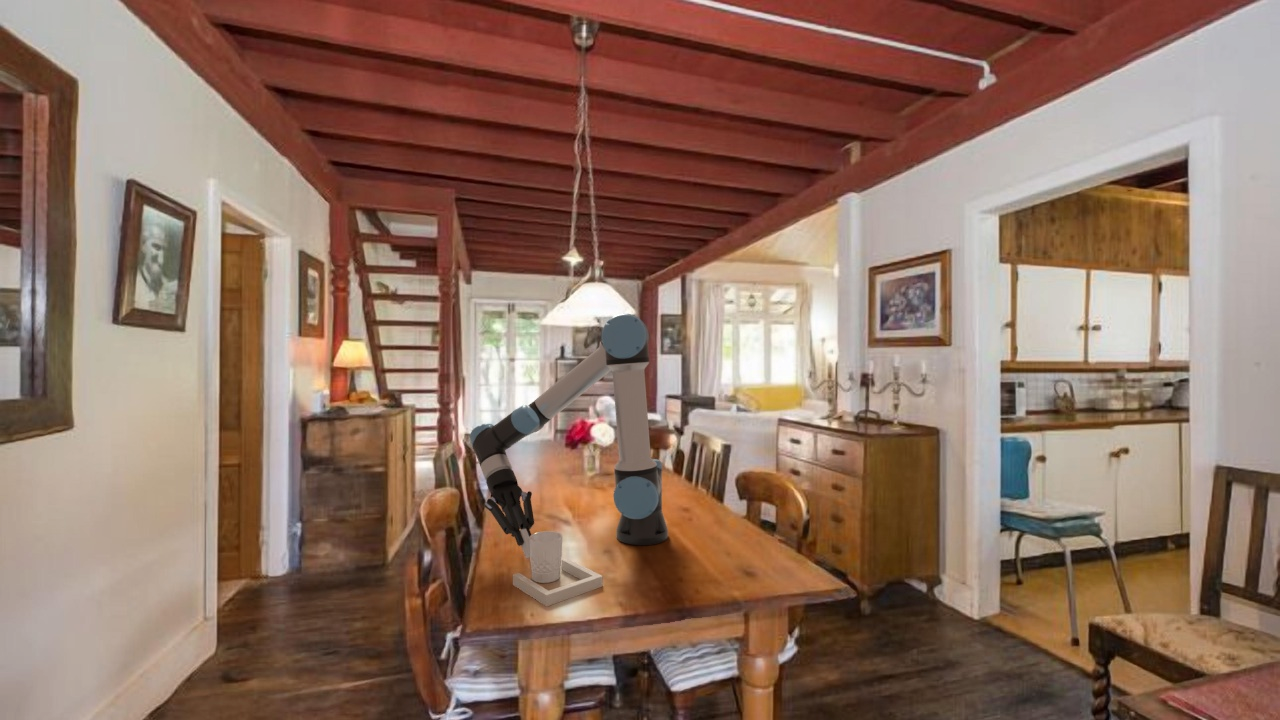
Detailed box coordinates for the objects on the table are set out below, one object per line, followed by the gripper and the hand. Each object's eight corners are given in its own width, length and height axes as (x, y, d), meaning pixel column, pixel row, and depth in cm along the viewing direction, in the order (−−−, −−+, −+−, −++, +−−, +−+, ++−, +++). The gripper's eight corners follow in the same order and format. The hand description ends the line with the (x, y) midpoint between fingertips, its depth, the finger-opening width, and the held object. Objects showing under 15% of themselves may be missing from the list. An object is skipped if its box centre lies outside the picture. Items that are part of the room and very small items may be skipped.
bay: (512, 584, 127) (512, 574, 127) (567, 567, 137) (567, 558, 137) (546, 606, 116) (546, 595, 116) (602, 586, 126) (602, 576, 126)
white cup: (546, 587, 126) (546, 544, 126) (522, 579, 130) (522, 537, 130) (569, 575, 132) (569, 534, 132) (545, 568, 137) (545, 528, 137)
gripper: (516, 479, 152) (547, 556, 140) (471, 487, 144) (501, 569, 131) (525, 464, 148) (559, 541, 136) (480, 470, 140) (511, 553, 127)
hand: (530, 555), depth 134 cm, fingers closed
